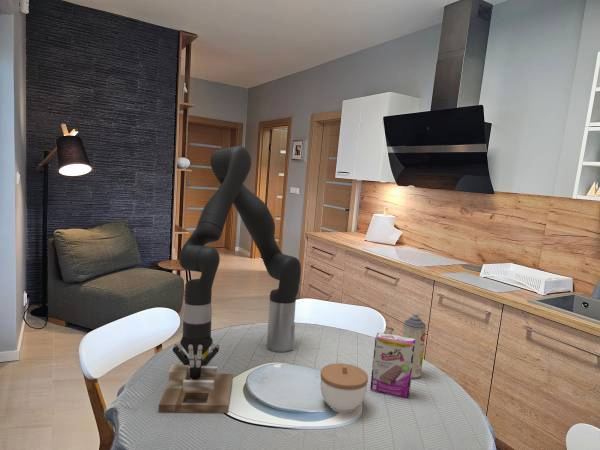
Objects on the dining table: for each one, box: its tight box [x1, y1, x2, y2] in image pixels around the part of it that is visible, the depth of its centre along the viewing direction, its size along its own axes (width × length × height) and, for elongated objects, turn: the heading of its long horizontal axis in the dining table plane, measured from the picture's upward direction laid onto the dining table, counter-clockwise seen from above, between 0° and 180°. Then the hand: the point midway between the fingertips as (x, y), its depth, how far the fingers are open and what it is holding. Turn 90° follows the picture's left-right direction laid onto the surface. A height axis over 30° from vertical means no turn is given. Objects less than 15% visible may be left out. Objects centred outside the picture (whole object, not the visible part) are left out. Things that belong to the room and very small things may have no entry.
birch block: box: [168, 363, 189, 386], centre depth 114 cm, size 4×4×4 cm
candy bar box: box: [369, 331, 416, 399], centre depth 120 cm, size 11×5×16 cm, turn 71°
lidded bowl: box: [320, 362, 369, 414], centre depth 110 cm, size 13×13×11 cm
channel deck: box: [158, 365, 234, 414], centre depth 111 cm, size 17×17×4 cm
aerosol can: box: [402, 312, 427, 380], centre depth 131 cm, size 7×7×20 cm
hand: (195, 378), depth 114 cm, fingers closed
